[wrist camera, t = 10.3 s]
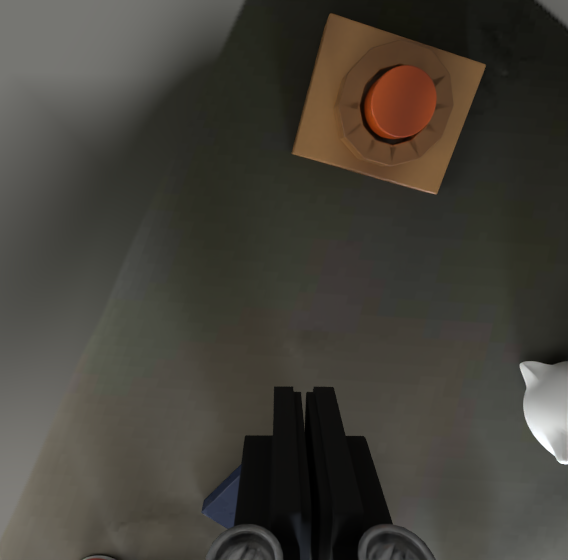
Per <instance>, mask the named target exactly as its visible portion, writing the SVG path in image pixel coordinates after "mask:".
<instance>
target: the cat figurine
mask: <svg viewBox="0 0 568 560" xmlns="http://www.w3.org/2000/svg"><path fill="white" fill-rule="evenodd" d="M520 370H521V372H522V375H523V377H524V380H525V383H526V392H525V395H524V401H523V408H524V415H525V418H526V421H527V424H528V426H529V428H530V430H531V431H532V433H533V434H534V436H535V437H536V438H537V440H538V441H539V442H540V443H541V444H542V445H543V446H544V447H545V448H546V449H547V450H548V451H549V452H551V453H552V454H553V455H555V457H556V459H557V461H558V462H559V463H561V464H568V361H564V362H560V363H556V364H554V365H548V364H544V363H540V362H535V361H525V362H522V363H520Z"/></svg>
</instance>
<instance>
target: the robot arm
mask: <svg viewBox="0 0 568 560" xmlns="http://www.w3.org/2000/svg"><path fill="white" fill-rule="evenodd" d="M205 560H436V559H435V557H434V555H433V554H432V552H431V551H430V549H429V548H428V547H427V545H426V544H425V542H424V541H422V540H421V539H420V538H419V537H418V536H417V535H416V534H414V533H413V532H411V531H409V530H407V529H406V528H404V527H400V526H397V525H393V523H392V520H391V517H390V514H389V510H388V507H387V504H386V501H385V498H384V495H383V491H382V488H381V485H380V482H379V479H378V476H377V472H376V469H375V466H374V463H373V460H372V457H371V453H370V450H369V447H368V444H367V441H366V439H365V437H364V436H345V432H344V428H343V424H342V420H341V416H340V411H339V407H338V403H337V399H336V395H335V391H334V388H333V387H314V389H313V392H307V393H306V412H305V431H304V421H303V410H302V400H301V392H294V391H293V387H274V420H273V436H245V440H244V448H243V456H242V464H241V472H240V480H239V488H238V496H237V504H236V512H235V519H234V527H231V528H229V529H228V530H226V531H224V532H223V533H221V534H220V535H219V536H218V537H217V538H216V540H215V541H214V542H213V543H212V545H211V547H210V549H209V551H208V553H207V556H206V559H205Z"/></svg>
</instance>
